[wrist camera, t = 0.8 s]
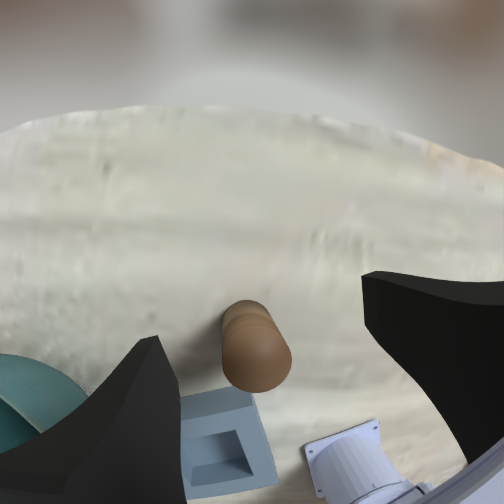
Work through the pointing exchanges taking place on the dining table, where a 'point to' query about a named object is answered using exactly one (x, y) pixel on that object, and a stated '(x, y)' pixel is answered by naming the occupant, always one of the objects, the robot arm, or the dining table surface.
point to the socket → (223, 444)
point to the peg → (253, 348)
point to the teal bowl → (32, 399)
